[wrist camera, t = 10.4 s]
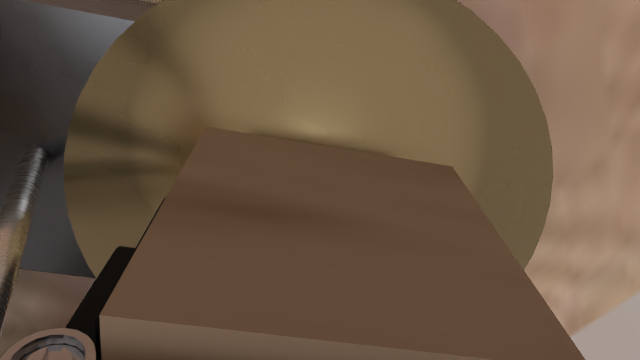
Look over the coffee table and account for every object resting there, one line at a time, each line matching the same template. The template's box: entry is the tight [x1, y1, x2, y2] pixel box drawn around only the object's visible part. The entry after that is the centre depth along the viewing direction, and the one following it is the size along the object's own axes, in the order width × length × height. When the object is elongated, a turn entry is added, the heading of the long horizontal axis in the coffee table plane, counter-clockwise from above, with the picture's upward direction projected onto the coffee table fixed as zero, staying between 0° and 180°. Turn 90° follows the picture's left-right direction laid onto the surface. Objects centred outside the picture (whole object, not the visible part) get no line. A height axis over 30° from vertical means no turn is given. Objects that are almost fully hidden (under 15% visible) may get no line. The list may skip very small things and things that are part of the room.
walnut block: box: [99, 126, 585, 360], centre depth 9 cm, size 6×6×6 cm
